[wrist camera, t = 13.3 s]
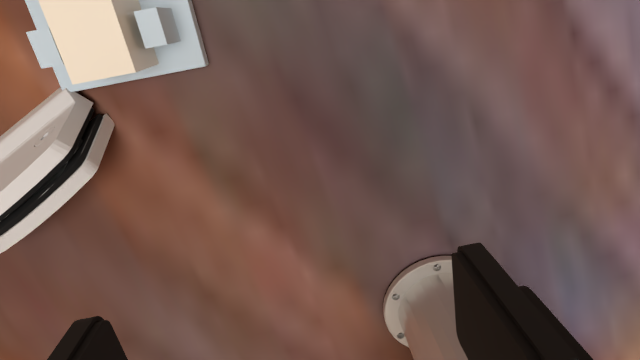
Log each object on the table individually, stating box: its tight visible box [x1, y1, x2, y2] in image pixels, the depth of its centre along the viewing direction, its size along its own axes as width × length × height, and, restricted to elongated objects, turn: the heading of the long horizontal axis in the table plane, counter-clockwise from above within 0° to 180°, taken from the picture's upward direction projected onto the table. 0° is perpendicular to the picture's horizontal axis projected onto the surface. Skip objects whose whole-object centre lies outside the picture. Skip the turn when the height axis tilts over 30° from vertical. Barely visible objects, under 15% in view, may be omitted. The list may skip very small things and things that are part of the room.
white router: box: [0, 87, 115, 253], centre depth 34 cm, size 17×5×10 cm, turn 125°
